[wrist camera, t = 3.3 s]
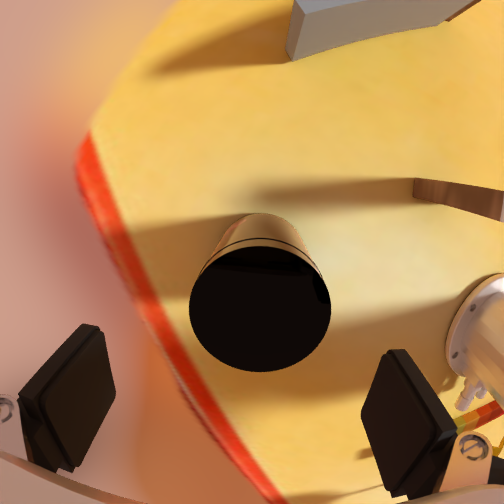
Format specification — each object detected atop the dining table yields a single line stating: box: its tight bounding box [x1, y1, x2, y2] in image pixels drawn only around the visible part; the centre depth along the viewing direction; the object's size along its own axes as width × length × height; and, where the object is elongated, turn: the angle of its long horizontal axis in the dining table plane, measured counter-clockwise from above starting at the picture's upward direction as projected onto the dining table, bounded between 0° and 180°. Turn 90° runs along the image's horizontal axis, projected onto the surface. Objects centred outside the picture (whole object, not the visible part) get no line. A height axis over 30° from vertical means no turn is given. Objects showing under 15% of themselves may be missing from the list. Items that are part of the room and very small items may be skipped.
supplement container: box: [189, 213, 331, 372], centre depth 19 cm, size 7×7×10 cm
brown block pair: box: [413, 0, 504, 222], centre depth 14 cm, size 20×4×11 cm, turn 175°
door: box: [285, 0, 473, 62], centre depth 14 cm, size 15×2×8 cm, turn 115°
